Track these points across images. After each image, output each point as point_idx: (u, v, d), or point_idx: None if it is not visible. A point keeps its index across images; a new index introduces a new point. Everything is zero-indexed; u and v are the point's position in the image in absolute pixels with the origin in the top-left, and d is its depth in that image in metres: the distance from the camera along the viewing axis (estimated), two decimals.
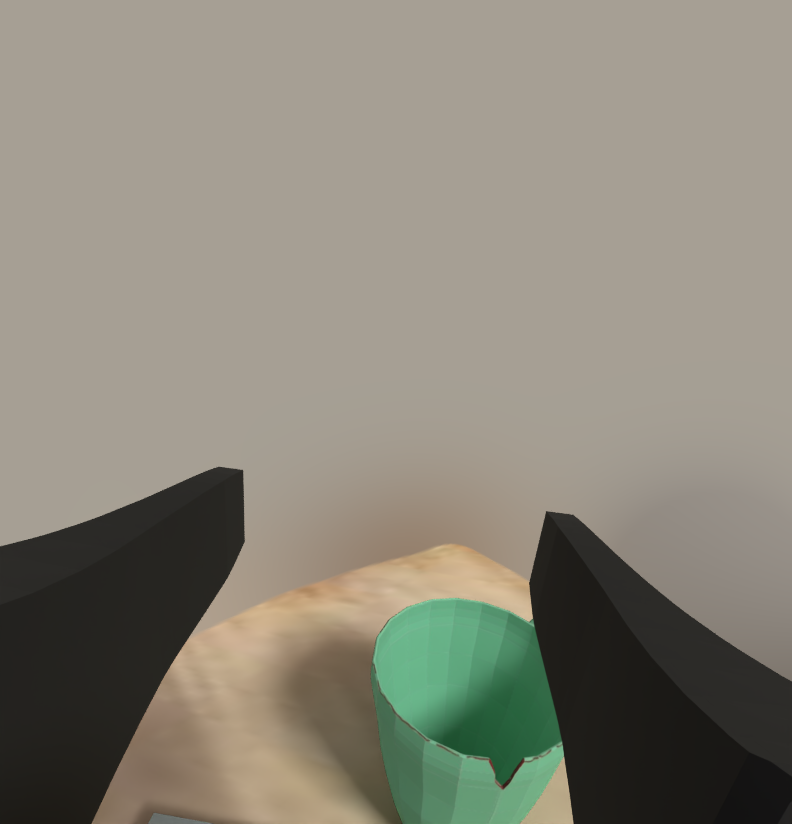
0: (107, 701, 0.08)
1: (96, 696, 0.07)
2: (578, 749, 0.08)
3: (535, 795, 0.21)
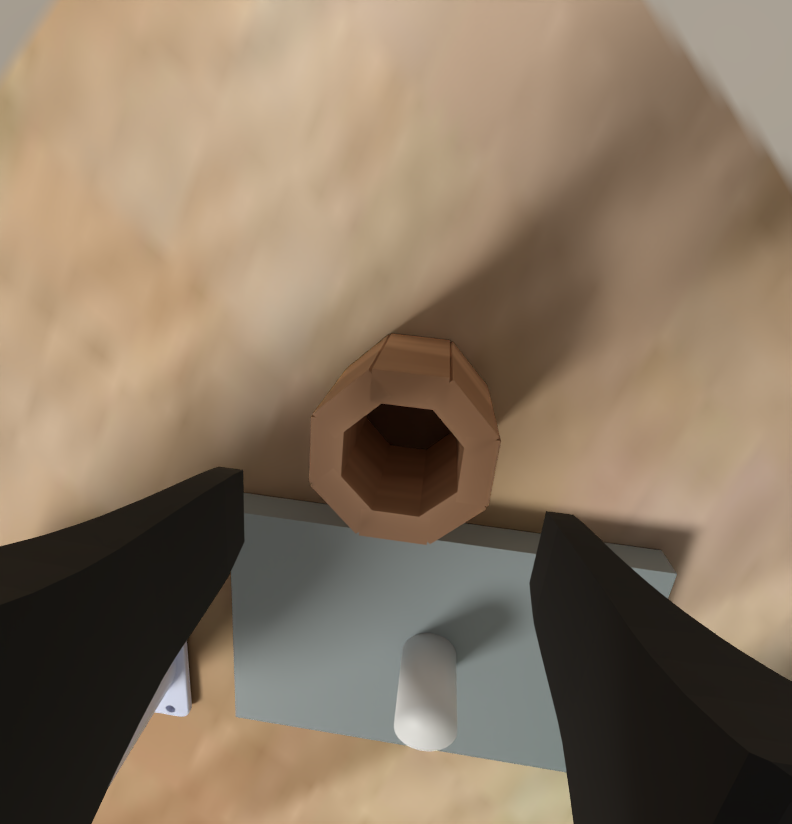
0: (107, 701, 0.08)
1: (96, 696, 0.07)
2: (578, 749, 0.08)
3: None
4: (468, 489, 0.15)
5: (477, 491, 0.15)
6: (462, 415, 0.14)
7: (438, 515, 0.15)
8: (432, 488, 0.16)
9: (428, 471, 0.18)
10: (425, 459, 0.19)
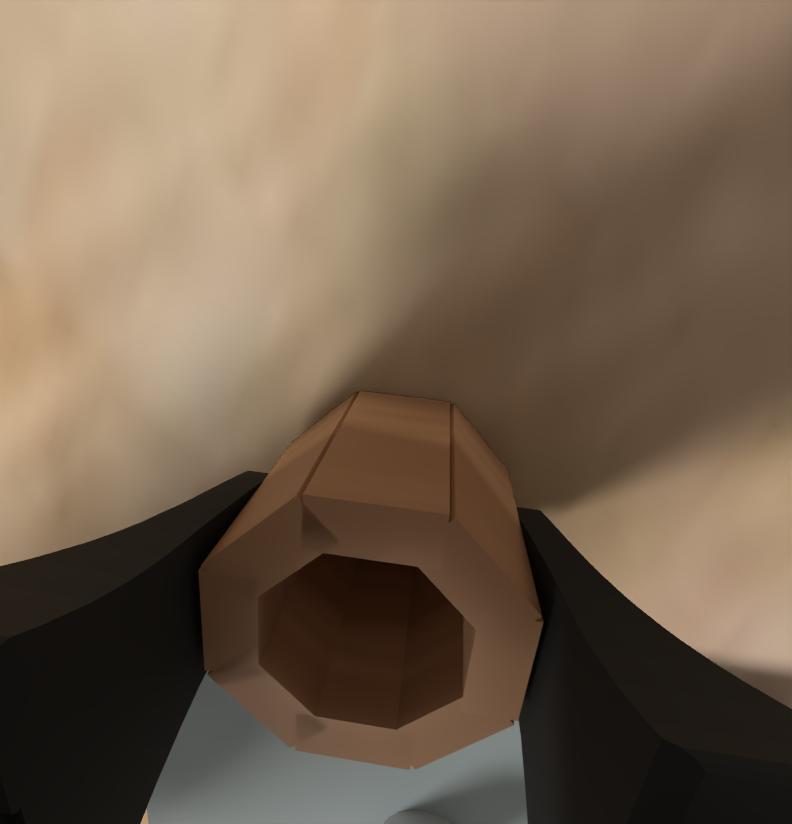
0: (152, 709, 0.07)
1: (143, 704, 0.07)
2: (532, 741, 0.08)
3: None
4: (482, 694, 0.08)
5: (498, 698, 0.08)
6: (473, 578, 0.08)
7: (429, 729, 0.09)
8: (420, 660, 0.10)
9: (416, 611, 0.11)
10: (412, 578, 0.13)
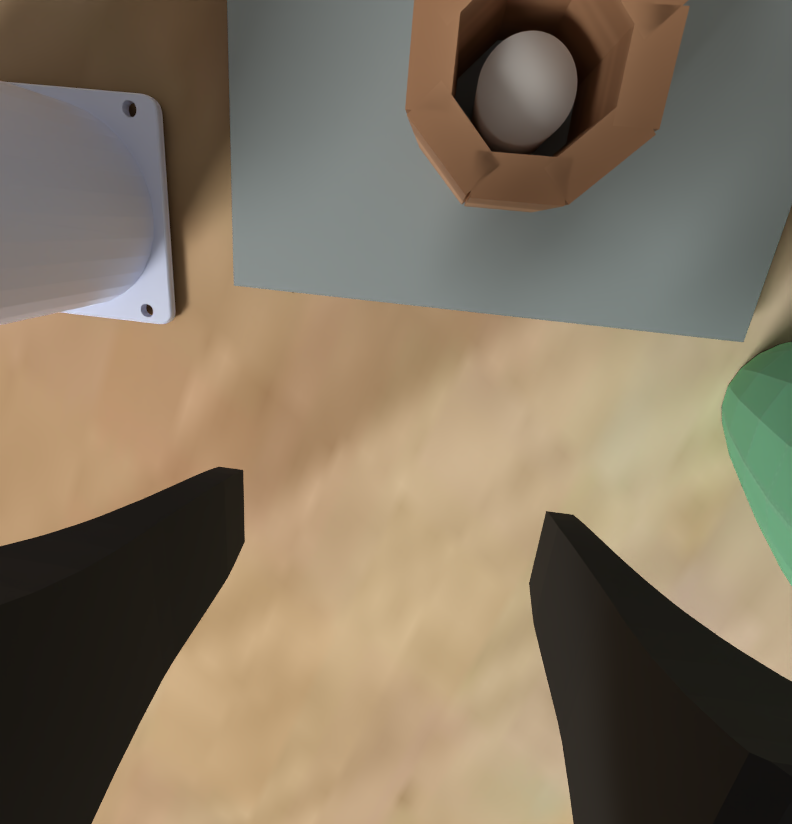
0: (107, 701, 0.08)
1: (96, 696, 0.07)
2: (578, 749, 0.08)
3: (780, 564, 0.14)
4: (633, 100, 0.11)
5: (645, 103, 0.11)
6: None
7: (585, 151, 0.11)
8: (563, 150, 0.12)
9: None
10: None
